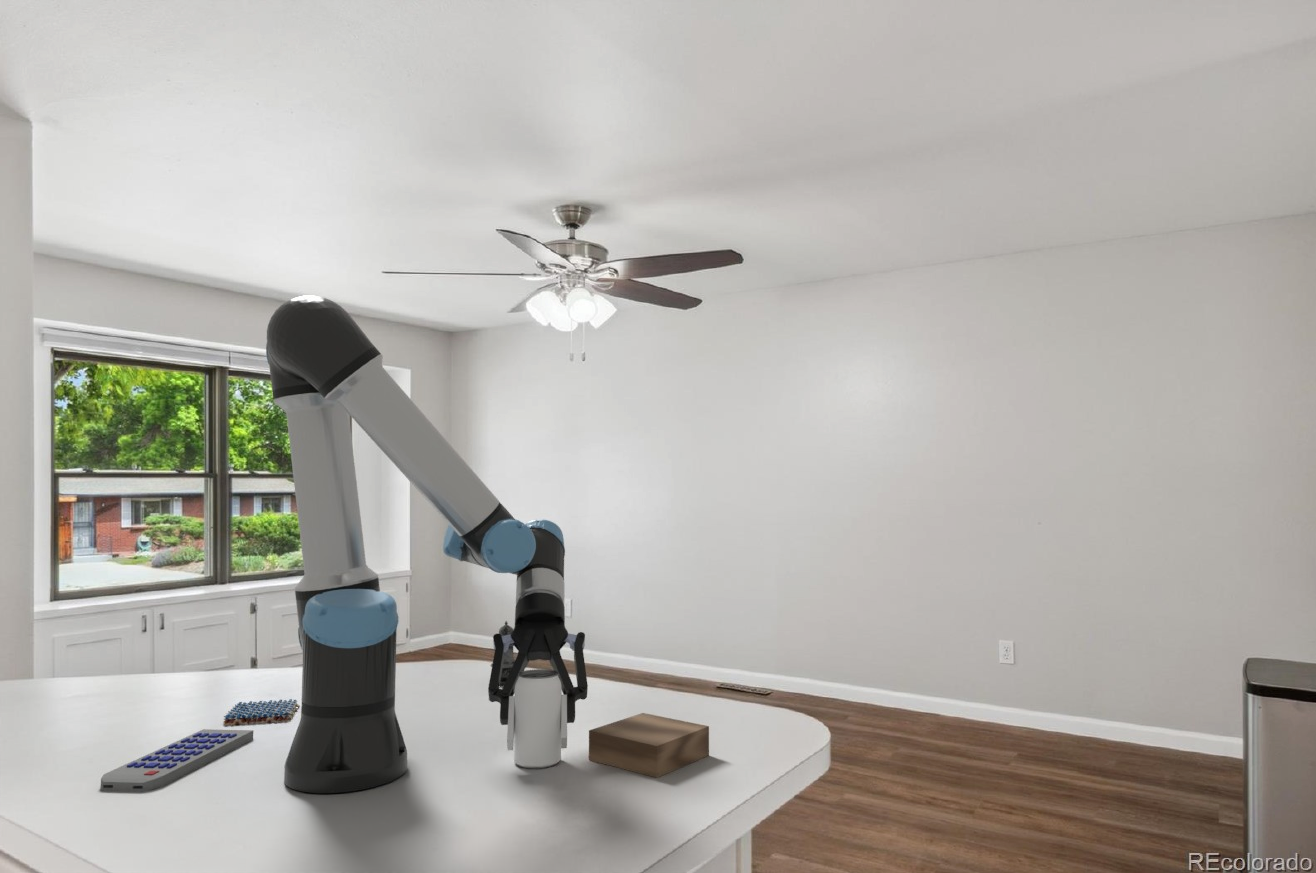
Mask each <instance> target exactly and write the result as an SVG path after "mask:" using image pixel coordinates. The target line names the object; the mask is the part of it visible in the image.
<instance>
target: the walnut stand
mask: <svg viewBox="0 0 1316 873" xmlns="http://www.w3.org/2000/svg"><path fill="white" fill-rule="evenodd" d="M708 756H710V726H709V725H705V724H699V723H695V722H691V721H690V722H689V721H685V720H680V719H675V718H671V717H670V718H669V717H665V716H664V717H663V716H659V715H655V714H649V713H645V712H641V713H639V714H635V715H632V716H630V717H629V716H628V717H626V718H623V719H620V720H617V721H614V722H610V723H608V724H604V725H602V726H598V727H595V728H592V729H589V730H588V760H589V761H592V762H596V763H600V764H603V765H606V766H607V765H608V766H611V767H615V768H619V769H623V770H627V771H630V772H634V773H638V774H642V775H646V776H650V777H653V778H660V777H662V776H664V775H666V774H669V773H671V772H673V771H675V770H678V769H680V768H683V767H685V766H687V765H690V764H692V763H694V762H696V761H699V760H701V759H704V758H705V757H708Z"/></svg>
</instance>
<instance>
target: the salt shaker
mask: <svg viewBox="0 0 1316 873" xmlns="http://www.w3.org/2000/svg"><path fill="white" fill-rule="evenodd" d="M508 624H509V622H508V621H507V620H506V621H505V622H504V625H503V626H501V627H500V628H499V629H498V634H500V635H501V636H505V635H510V634H511V632H512V631H513V629H514V627H512V626H510V625H508ZM514 647H515V646H514V645H513V644H512V643H511V644H510V645H509V648H508V650H507V651H506V652H504V662H503V668H502V674H501V681H500V686H501V687H502V686H503V687H504V685H505V682H506V680H507V678H508V676H509V673H510V671H511V669H512V667H513V664H514V662H515V660H516V659H515V656H514ZM492 664H493V662H492V663H490V667H491V668H492Z"/></svg>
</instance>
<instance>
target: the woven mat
mask: <svg viewBox="0 0 1316 873" xmlns="http://www.w3.org/2000/svg"><path fill="white" fill-rule="evenodd" d="M296 707H299V708H301V706H300V704H299V703H298V700H297V699H292V698H289V700H287V699H285V700H283V699H279V701H277V700H272V699H271V700H270V699H269V701H265V700H259V701H258V702H257V701H252V700H251V701H249V702H243V701H239V702H238V703H236V704H234V706H232V708H231V709H230V710H228V712H226V713H225V715H223V721H222V722H223V726H224V727H225V726H235V725H236V726H238V725H256V724H270V723H286V722H287V723H288V722H291V721H292V720H291V719H293V718H294V716H295V712H297V711H299V708H296ZM293 711H294V712H293Z"/></svg>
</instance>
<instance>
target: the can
mask: <svg viewBox="0 0 1316 873" xmlns="http://www.w3.org/2000/svg"><path fill="white" fill-rule="evenodd" d="M558 674H559V673H558V672H557V671H554V669H545V668H544V669H543V668H540V669H539V668H536V669H527V670H526V669H525V670H524V671H522V672H520V673H518V676H519V677H518V680H517V682H516V684H515V693H514V696H515V706H514V744H513V761H514V763H515V765H517V767H520V768H523V769H529V770H531V769H533V770H536V769H547V768H550V767H553V766H556V765H557V764H558V763H559V762H560V760H562V759H561V758H562V748H561V698H562V695H563V692H562V686H561V682H560V679H559V677H558Z"/></svg>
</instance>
